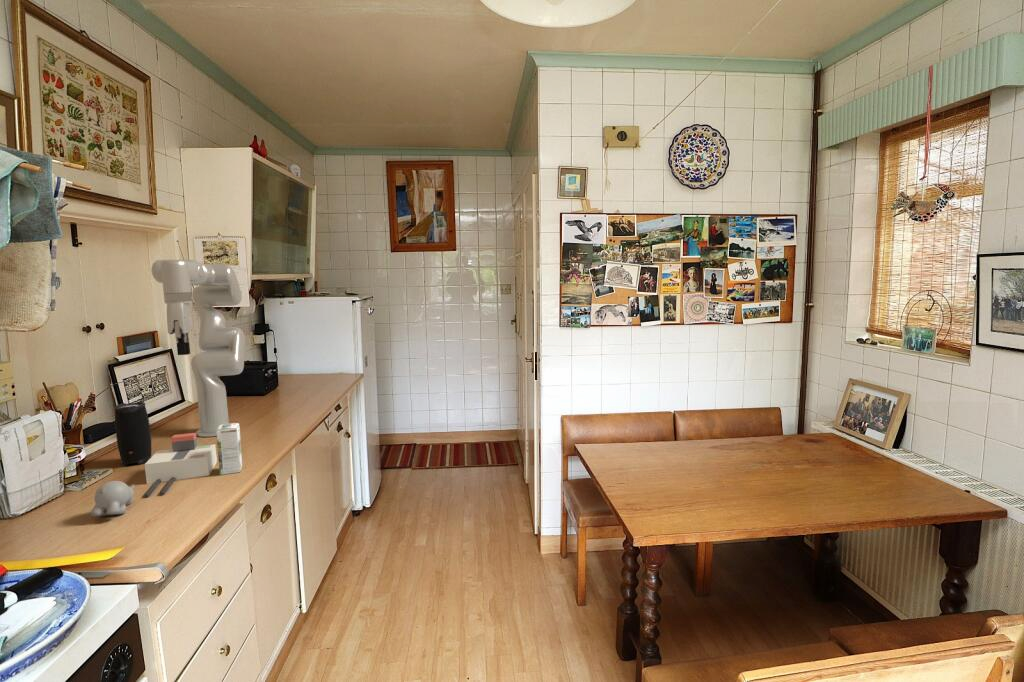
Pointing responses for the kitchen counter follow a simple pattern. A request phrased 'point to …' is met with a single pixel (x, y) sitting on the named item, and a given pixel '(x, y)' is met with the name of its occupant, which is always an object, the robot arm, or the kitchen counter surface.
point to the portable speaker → (133, 433)
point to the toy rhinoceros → (112, 498)
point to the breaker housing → (181, 464)
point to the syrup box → (229, 448)
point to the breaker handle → (184, 442)
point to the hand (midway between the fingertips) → (184, 354)
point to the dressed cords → (157, 485)
